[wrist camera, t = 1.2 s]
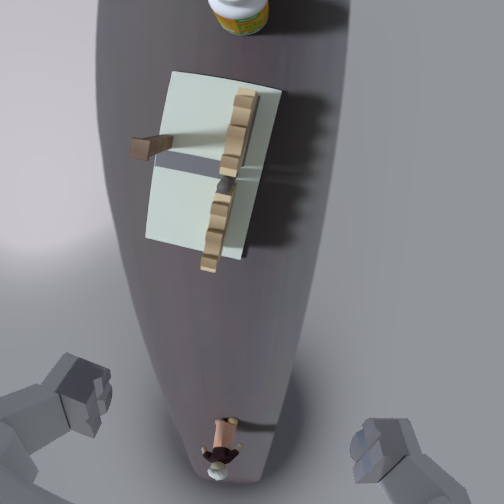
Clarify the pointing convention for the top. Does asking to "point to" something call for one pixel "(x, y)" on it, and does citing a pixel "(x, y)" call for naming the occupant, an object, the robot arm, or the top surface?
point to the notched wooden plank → (217, 229)
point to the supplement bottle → (241, 15)
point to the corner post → (149, 146)
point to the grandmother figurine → (222, 448)
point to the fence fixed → (237, 137)
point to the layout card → (205, 161)
